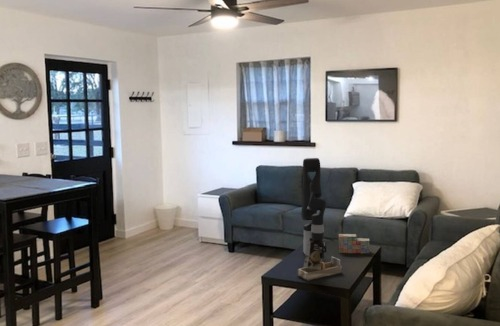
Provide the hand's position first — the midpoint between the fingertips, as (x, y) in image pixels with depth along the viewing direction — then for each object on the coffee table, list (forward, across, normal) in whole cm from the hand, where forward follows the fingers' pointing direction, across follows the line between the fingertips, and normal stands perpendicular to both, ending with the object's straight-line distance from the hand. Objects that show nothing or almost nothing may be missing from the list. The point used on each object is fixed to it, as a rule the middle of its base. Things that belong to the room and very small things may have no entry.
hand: (317, 256), depth 289 cm
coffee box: (+7, 0, -5) cm, 8 cm away
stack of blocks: (+12, -23, +49) cm, 55 cm away
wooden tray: (+11, 0, +1) cm, 11 cm away
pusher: (+10, 0, +2) cm, 11 cm away
